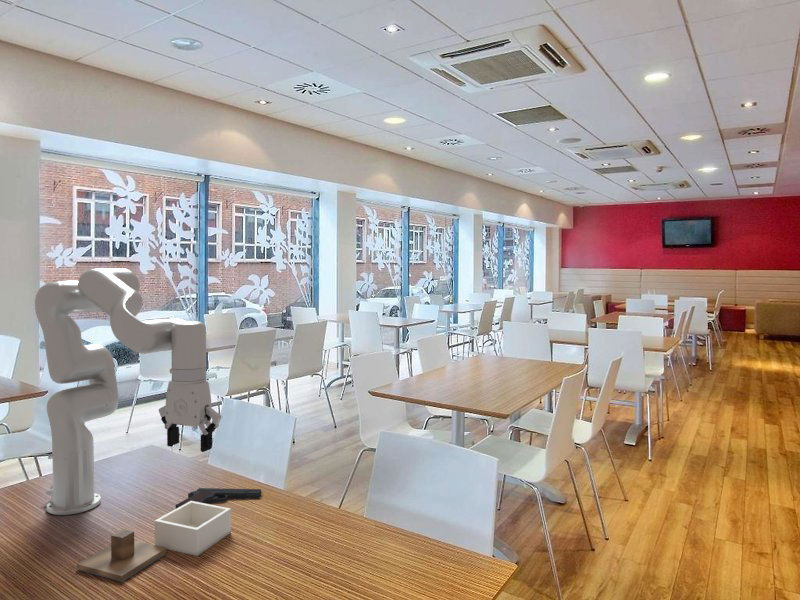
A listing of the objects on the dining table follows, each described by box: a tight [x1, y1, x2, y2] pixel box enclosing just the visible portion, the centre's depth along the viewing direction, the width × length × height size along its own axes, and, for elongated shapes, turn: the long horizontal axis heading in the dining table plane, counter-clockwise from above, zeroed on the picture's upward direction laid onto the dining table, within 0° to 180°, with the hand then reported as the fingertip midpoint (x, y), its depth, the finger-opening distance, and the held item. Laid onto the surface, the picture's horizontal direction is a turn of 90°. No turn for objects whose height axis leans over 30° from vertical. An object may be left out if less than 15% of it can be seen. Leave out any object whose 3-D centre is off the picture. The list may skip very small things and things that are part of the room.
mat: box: [78, 552, 167, 583], centre depth 123 cm, size 12×12×1 cm
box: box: [154, 501, 232, 557], centre depth 133 cm, size 12×12×6 cm
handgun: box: [175, 487, 263, 509], centre depth 154 cm, size 2×20×12 cm
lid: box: [76, 528, 168, 581], centre depth 123 cm, size 12×12×6 cm
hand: (189, 447), depth 132 cm, fingers open, 9 cm apart
